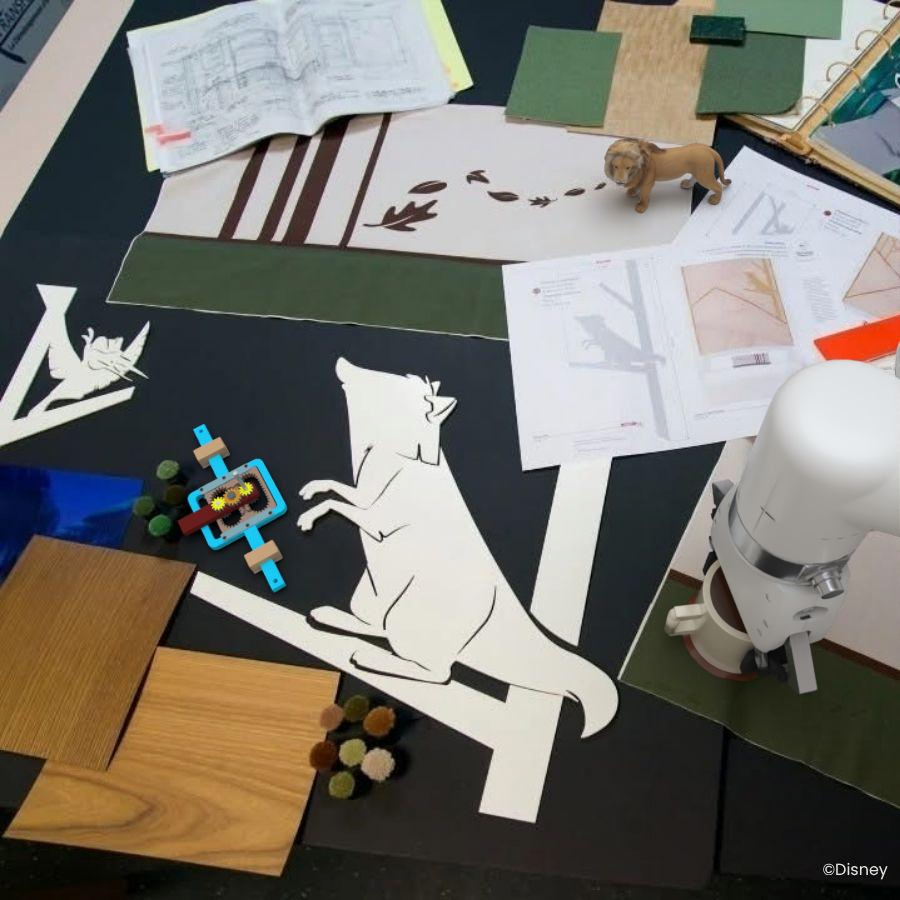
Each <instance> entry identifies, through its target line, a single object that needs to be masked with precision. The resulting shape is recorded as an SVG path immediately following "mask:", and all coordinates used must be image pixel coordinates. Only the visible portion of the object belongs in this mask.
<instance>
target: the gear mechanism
mask: <svg viewBox="0 0 900 900" xmlns="http://www.w3.org/2000/svg"><path fill="white" fill-rule="evenodd" d="M193 432H194V434H195V436H196V438H197V440H198V442H199V444H200V446H199V447H198V448H195V449H194V450H192V452H193V454H194V455H195V458H196V460H197V462H198V463H199V464H200V466H201V467H202V469H206V468H208V467H209V466H210V467H211V468H212V471H213V473H214V475H215V477H216V478H215V479H214V480H212V481H210V482H208V483H206V484H205V485H203V486H201V487H199V488H198V489H196V490H194V491H192V492H190V493H189V494H188V496H187V502H188V504H189V506H190V508H191V510H192V512H191V513H190V514H188V515H186V516H184V517H182V518H181V519H179V520H177V522H178V525H179V527H180V529H181V532H182V534H183V535H184V536H185V537H188V536H189V535H191V534H193V533H195V532H197V531H199V530H200V531H201V532H202V534H203V536H204V538H205V540H206V542H207V545H208V546H209V547H210V549H212V550H213V551H219V550H220V549H223V548H224V547H226V546H229V545H230V544H231V543H232V544H233V543H234V542H236V541H238V540H239V539H242V538H243V537H245V538H246V540H247V542H248V544H249V546H250V548H251V551H249V552H247V553H246V554H244V555H243V557H244V559H245V561H246V563H247V566H248V568H249V569H250V570H251V571H252V572H253V574H257V573H259V572H261V571H262V572H263V574H264V576H265V579H266V581H267V582H268V585H269V586H270V589H271V591H272V592H273V593H276V592H278V591H280V590H282V589H283V588H285V587H287V584H286V582H285V581H284V578H283V576H282V575H281V572H280V570H279V569H278V566H277V564H276V562H279V561H281V560H283V559H284V557H283V555H282V553H281V551H280V549H279V546H277V544H276V543H275V541H274V540H273V539H270V540H269V541H267V542H265V541H264V539H263V537H262V535H261V533H260V531H259V529H260V528H261V527H263V526H265V525H267V524H269V523H271V522H272V521H274V520H276V519H277V518H279V517H281V516H283V515H284V514H286V512H287V510H288V506H287V504H286V502H285V500H284V497H282V494H281V493H280V491H279V489H278V487H277V485H276V483H275V481H274V479H273V478H272V476H271V474H270V472H269V470H268V468H267V467H266V464H265V463H264V461H263V460H262V459H260V458H255V459H253V460H250V461H249V462H247V463H244V464H243V465H241V466H239V467H237V468H235V469H233V470H231V471H229V469H228V467H227V466H226V463H225V462H224V458H226V457H229V456H230V455H231V454H230V452H229V450H228V448H227V445H226V444H225V443H224V441H223V439H222V438H221V436H219V437H217V438H215V439H213V437H212V435H211V433H210V431H209V429H208V427H207V425H206V424H204V423H203V424H201V425H199V426H197V427H196V428H193ZM248 478H249V479H251V478H254V479H256V480H257V482H258V483H259V485H260V487H261V489H262V491H263V492H264V494H265V497H266V499H267V505H266V507H264V508H263V509H261V510H258V511H257V510H252V508H251V506H250V504H251V505H254V503H255V504H256V503H257V501H259V497H260V492H259V490H258V488H257V487H256V485H255V483H254V482H253V481H250V482H244V481H245V480H247V479H248ZM221 493H225V494H223V495H222V496H220V497H219V494H221ZM201 499H204V500H206V503H207V504H206V505H205V506H203V507H201V505H200V503H199V501H200V500H201ZM236 510H238V511H239V513H240V519H238V520H239V521H238V522H237V523H236V524H234V525H227V524H225V523H224V520H226V519H227V518H230V516H231V515H232V513H233V512H234V511H236ZM223 519H224V520H223ZM213 522H216V523H217V525H218V527H219V529H220V531H221V534H220V537H219V538H216V537H215V536H214V533H213V531H212V529H211V527H210V524H212V523H213Z"/></svg>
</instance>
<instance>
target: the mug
mask: <svg viewBox="0 0 900 900" xmlns="http://www.w3.org/2000/svg"><path fill="white" fill-rule="evenodd" d="M698 592H699V593H697V594H698V595H697V598H696V597H695V599H696V600H695V603H694V604H693V605H688V604H687V605H686V604H685V605H675V606H673V608H670V609H669V610H668V614H667V617H666V620H665V623H664V626H663V630H664V632H665V633H666V634H667V635H668V636H670V637H674V636H684V635H685V634H687V635H688V634H690V635H689V636H690V637H689V638H691V640H692V641H691V643H692V644H693V645H694V648H695V649H696V650H697V651H698V652H699V653H698V654H699V655H700V657H702V658H704V659H705V661H707V663H708V662H709V664H711V665H713V667H717V668H719V669H721V670H722V671H723V670H724V671H725V672H726V671H727V672H730V673H733V674H734V673H736V674H737V673H738V674H742V673H741V671H740V668H739V667H740V663H741V662H742V660H743V659H744V657H745V655H746V654H747V652H748V651H749V650H752V649H755V646H754V644H753V643H752V641H751V639H750V637H749V635H748V632H747V630H746V628H745V625H744V623H743V620H742V618H741V616H740V613H739V611H738V608H737V606H736V603H735V601H734V598H733V596H732V593H731V591H730V588H729V585H728V583H727V580H726V578H725V575H724V573H723V570H722V567H721V565H720V562H719V559H718V560H717V561H715V562H714V563H713V564H712V566H711V567H710V568H709V570H708V571H707V573H706V576H704V578H703V580H702V583H701V586H700V588H699V590H698ZM682 620H684V621H682ZM696 650H695V651H696ZM704 659H703V660H704ZM721 670H720V671H721Z"/></svg>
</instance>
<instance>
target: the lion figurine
mask: <svg viewBox="0 0 900 900" xmlns="http://www.w3.org/2000/svg"><path fill="white" fill-rule="evenodd" d="M603 159H604V165H603V166H604V167H603V168H604V169H603V172H604V174H605V176H606V178H607V179H609V180H610V181H612V182H613V183H615V184H616V186H617V187H623V188H624V189H626V195H627V196H628V197H635V196H637V194H638V193H639V196H640V199H639V202H637V203H636V204H635V210H636V211H637V212H639V213H644V212H645V211H647V208H648V207H649V203H650V194H651V192H652V189H653V188H654V186H655V183H656V182H657V183H658V182H670V181H675V180H677V179H679V178H682V177H683V176H684V175H686V174H690V175H691V177H690V178H689V179H688V178H683V179H682V180H681V181H680V187H681V188H684V189H690V188H692V187H693V186H694V185H695V184H697V183H698V184H699V185H700V186H702V187H704V188H705V189H706V190H707V189H708V190H709V191H711V192H713V194H712V193H711V194H710V195H709V197H708V198H707V200H708V202H709V203H710V204H712V205H717V204H719V203H720V202H721V200H722V197H723V186H729V185H731V184H732V180H731V179H730V178H725V167H724V162H723V159H722V157H721V155H720V154H719V153H718V152H717V151H716V150H715V149H713V148H712V147H711V146H709V145H708V144H704V143H700V142H693V143H688V144H685V145H680V146H676V147H664V148H663V147H662V148H660V146H658V145H657V144H655V143H654V142H650V141H646V140H644V139H638V138H636V137H634V138H632V137H629V138H628V137H627V138H620V139H617V140H615V141H613V143H612V144H610V145H609V147H608V148H607V150H606V153H605V155H604V157H603ZM715 165H716V169H717V173H718V179H719V181H720V182H719V181H718V180H717V178H716V176H715Z"/></svg>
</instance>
